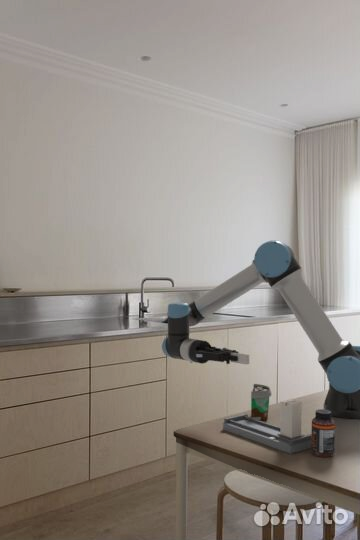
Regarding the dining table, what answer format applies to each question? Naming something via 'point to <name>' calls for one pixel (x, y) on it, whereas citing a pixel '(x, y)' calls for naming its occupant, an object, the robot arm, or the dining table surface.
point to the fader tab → (290, 419)
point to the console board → (265, 433)
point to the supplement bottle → (323, 434)
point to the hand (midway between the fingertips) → (247, 359)
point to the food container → (260, 402)
